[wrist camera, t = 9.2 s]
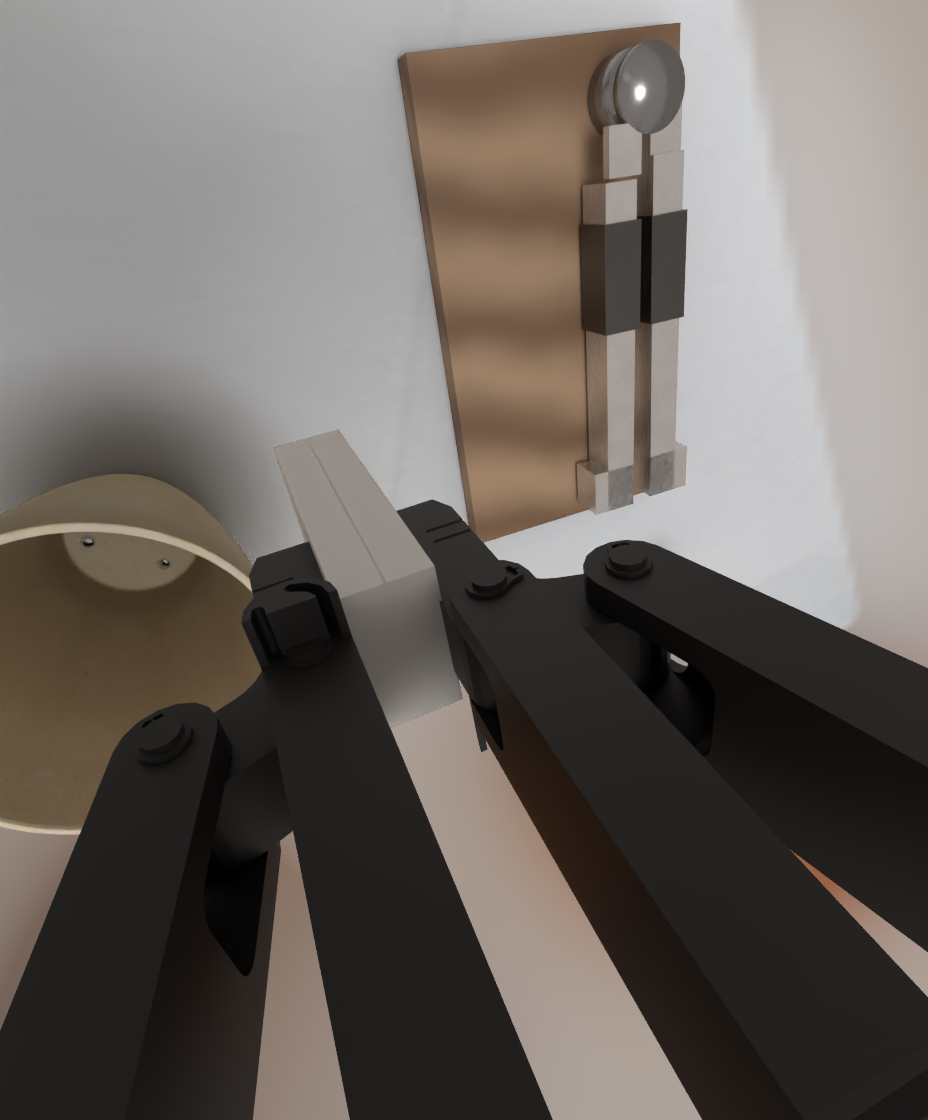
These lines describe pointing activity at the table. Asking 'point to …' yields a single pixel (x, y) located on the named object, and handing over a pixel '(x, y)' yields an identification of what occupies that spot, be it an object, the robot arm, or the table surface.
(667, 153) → the grey white bar
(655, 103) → the arm
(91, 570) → the plant pot
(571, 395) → the walnut board
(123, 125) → the table surface
